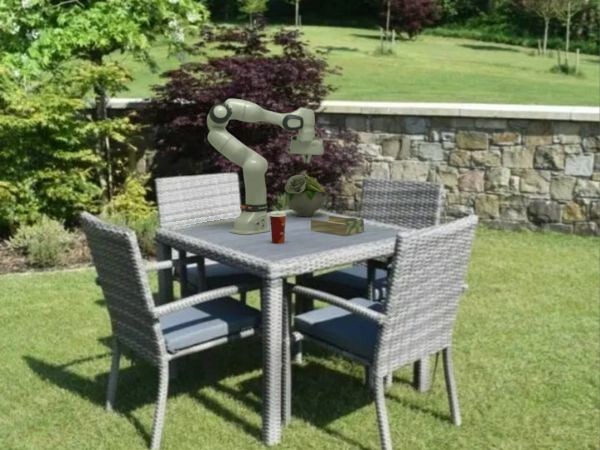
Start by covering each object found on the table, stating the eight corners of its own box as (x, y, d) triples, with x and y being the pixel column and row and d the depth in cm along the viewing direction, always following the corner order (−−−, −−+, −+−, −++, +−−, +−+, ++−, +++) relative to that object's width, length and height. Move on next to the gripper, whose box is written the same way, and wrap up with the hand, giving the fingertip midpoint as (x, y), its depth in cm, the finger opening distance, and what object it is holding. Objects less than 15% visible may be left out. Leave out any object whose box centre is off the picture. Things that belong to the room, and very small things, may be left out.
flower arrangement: (277, 217, 442) (277, 175, 437) (293, 211, 465) (293, 171, 460) (317, 220, 433) (318, 177, 429) (331, 213, 456) (332, 172, 452)
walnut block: (350, 228, 394) (350, 219, 394) (345, 226, 398) (345, 218, 397) (357, 227, 397) (357, 218, 396) (352, 225, 400) (352, 217, 400)
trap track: (345, 236, 388) (345, 222, 387) (310, 230, 403) (310, 217, 402) (363, 231, 400) (363, 218, 399) (329, 226, 415) (329, 213, 414)
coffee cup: (287, 243, 370) (286, 213, 368) (270, 244, 370) (269, 213, 367) (285, 240, 379) (285, 210, 376) (269, 240, 378) (269, 211, 375)
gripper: (326, 137, 411) (326, 163, 413) (294, 136, 422) (294, 161, 424) (320, 138, 406) (320, 164, 408) (288, 137, 417) (288, 162, 419)
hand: (306, 162), depth 416 cm, fingers closed
